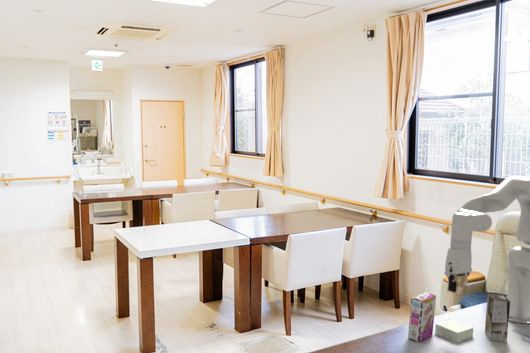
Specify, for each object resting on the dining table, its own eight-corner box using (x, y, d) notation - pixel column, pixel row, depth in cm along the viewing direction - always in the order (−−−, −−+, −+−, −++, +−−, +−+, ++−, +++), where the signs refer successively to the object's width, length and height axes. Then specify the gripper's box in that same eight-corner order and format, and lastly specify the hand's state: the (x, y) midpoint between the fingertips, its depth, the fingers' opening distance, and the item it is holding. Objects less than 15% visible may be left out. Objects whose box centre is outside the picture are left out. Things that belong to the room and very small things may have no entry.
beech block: (455, 289, 198) (457, 272, 198) (466, 293, 194) (467, 275, 193) (447, 290, 196) (448, 273, 195) (457, 294, 191) (459, 277, 191)
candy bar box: (419, 343, 187) (422, 301, 186) (407, 338, 191) (410, 297, 189) (433, 335, 195) (436, 294, 194) (421, 331, 199) (424, 291, 197)
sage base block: (450, 328, 203) (451, 319, 203) (472, 337, 195) (473, 327, 195) (434, 333, 198) (435, 323, 197) (456, 343, 190) (457, 332, 189)
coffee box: (507, 342, 191) (511, 301, 189) (489, 340, 192) (493, 299, 191) (501, 333, 200) (504, 294, 198) (484, 331, 201) (487, 292, 200)
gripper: (467, 240, 200) (463, 284, 202) (437, 244, 192) (434, 289, 194) (483, 244, 194) (479, 290, 196) (453, 248, 185) (450, 295, 187)
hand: (457, 289), depth 195 cm, fingers closed on beech block, 5 cm apart
